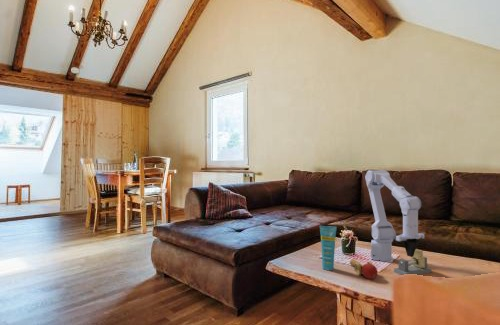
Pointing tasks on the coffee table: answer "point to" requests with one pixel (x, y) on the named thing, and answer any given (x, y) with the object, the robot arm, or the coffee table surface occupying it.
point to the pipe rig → (411, 267)
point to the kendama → (364, 269)
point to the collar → (419, 258)
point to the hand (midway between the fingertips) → (410, 256)
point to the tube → (328, 246)
